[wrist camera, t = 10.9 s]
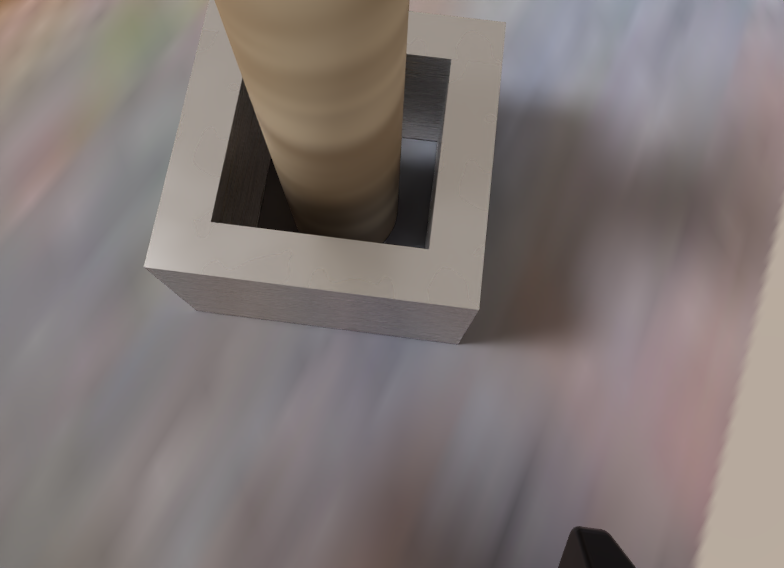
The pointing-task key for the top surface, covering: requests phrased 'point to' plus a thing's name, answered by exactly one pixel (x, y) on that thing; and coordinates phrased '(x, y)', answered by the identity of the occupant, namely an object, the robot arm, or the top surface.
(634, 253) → the top surface
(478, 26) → the socket block
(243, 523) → the top surface
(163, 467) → the top surface
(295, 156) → the slotted cylinder
